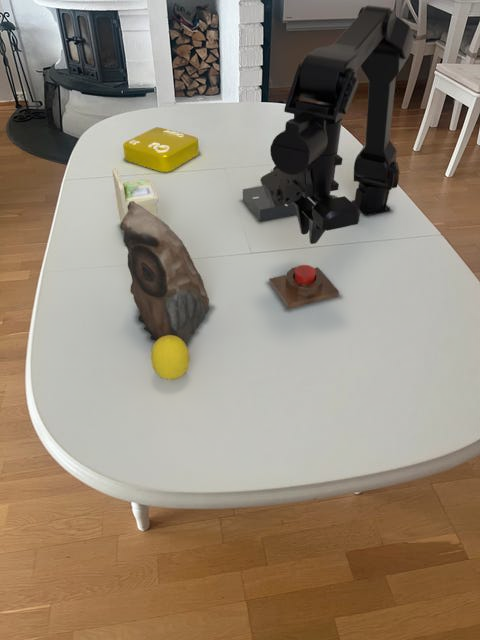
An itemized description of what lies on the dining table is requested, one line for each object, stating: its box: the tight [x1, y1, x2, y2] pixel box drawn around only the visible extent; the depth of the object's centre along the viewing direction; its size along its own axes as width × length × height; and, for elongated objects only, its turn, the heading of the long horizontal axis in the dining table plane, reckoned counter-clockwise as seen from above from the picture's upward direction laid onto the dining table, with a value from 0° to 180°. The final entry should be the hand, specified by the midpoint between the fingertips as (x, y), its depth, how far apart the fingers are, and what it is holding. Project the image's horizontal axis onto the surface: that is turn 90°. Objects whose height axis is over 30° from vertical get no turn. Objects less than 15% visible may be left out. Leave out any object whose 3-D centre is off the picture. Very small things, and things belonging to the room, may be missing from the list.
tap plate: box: [242, 185, 297, 223], centre depth 117 cm, size 12×11×3 cm
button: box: [294, 264, 316, 284], centre depth 92 cm, size 4×4×2 cm
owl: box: [119, 201, 211, 345], centre depth 81 cm, size 13×13×20 cm
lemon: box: [150, 335, 191, 381], centre depth 76 cm, size 6×6×8 cm
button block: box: [269, 266, 340, 310], centre depth 94 cm, size 10×8×3 cm
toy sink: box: [111, 168, 159, 233], centre depth 105 cm, size 8×7×13 cm
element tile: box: [122, 126, 200, 173], centre depth 136 cm, size 15×15×5 cm
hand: (308, 238), depth 87 cm, fingers open, 3 cm apart
